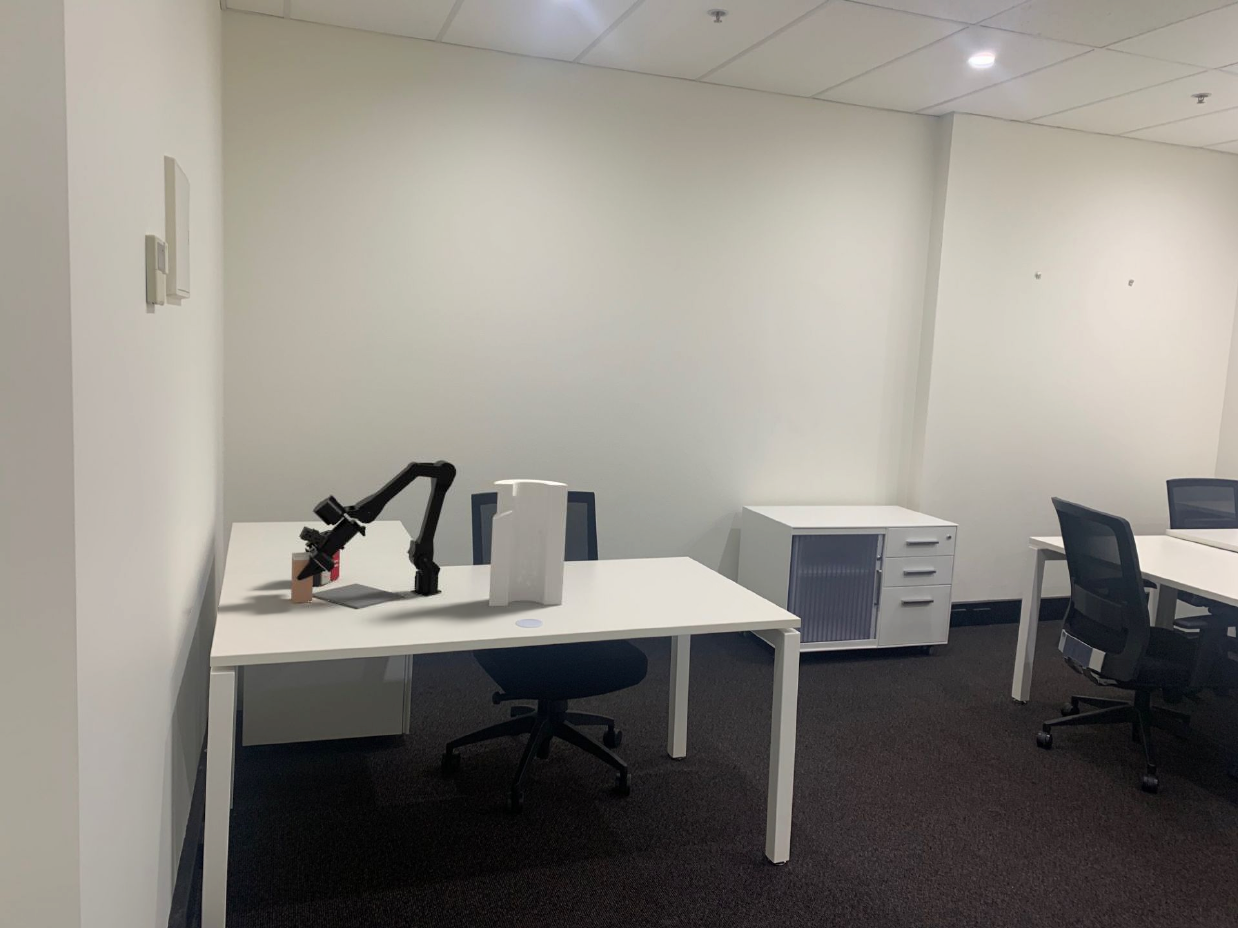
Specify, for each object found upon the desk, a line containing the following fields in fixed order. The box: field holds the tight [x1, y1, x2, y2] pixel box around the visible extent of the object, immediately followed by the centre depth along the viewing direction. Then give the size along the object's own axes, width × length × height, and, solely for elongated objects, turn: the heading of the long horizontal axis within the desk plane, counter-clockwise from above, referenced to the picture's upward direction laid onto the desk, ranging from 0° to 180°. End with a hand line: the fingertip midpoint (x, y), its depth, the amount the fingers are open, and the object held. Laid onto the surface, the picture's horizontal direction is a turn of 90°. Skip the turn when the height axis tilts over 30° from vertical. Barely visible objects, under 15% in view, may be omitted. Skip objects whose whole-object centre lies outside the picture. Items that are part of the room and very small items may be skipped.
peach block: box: [290, 551, 314, 604], centre depth 244 cm, size 5×5×13 cm
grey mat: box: [312, 583, 405, 610], centre depth 252 cm, size 20×17×1 cm
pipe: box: [488, 478, 569, 607], centre depth 256 cm, size 35×11×21 cm
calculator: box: [313, 529, 341, 587], centre depth 265 cm, size 11×4×15 cm, turn 168°
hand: (296, 577), depth 243 cm, fingers closed on peach block, 5 cm apart
